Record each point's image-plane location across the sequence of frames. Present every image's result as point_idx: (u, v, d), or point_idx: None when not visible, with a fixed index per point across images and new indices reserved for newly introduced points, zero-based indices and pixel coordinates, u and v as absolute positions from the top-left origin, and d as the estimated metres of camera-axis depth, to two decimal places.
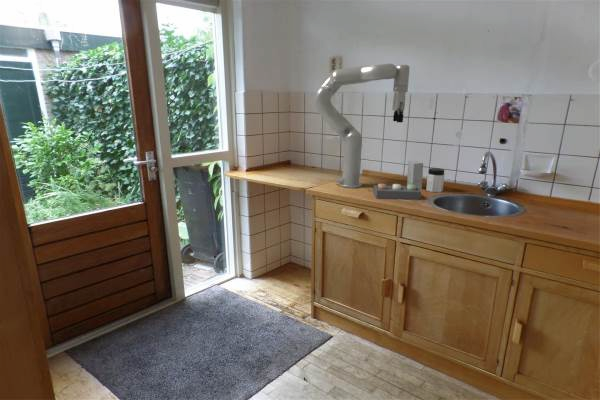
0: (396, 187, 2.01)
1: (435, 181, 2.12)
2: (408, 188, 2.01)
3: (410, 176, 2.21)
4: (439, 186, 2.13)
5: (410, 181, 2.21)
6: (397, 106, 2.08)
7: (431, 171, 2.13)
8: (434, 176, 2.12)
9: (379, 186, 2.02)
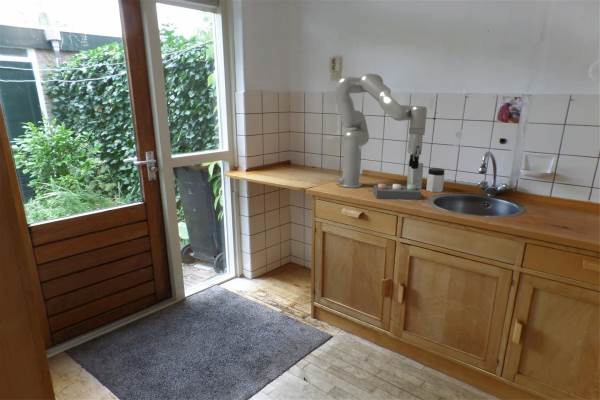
0: (396, 187, 2.01)
1: (435, 181, 2.12)
2: (408, 188, 2.01)
3: (410, 176, 2.21)
4: (439, 186, 2.13)
5: (410, 181, 2.21)
6: (413, 150, 1.92)
7: (431, 171, 2.13)
8: (434, 176, 2.12)
9: (379, 186, 2.02)
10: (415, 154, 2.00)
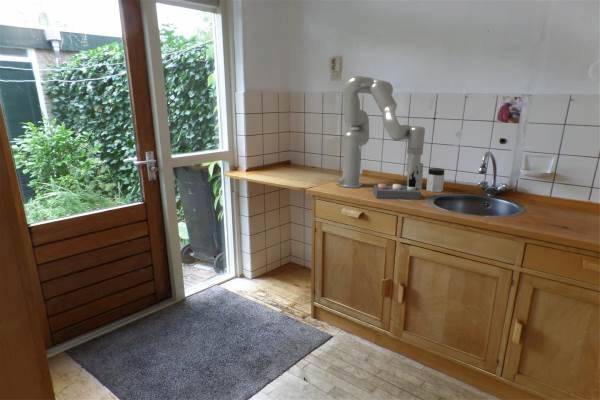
0: (396, 187, 2.01)
1: (435, 181, 2.12)
2: (408, 189, 2.02)
3: None
4: (439, 186, 2.13)
5: None
6: (412, 170, 1.95)
7: (431, 171, 2.13)
8: (434, 176, 2.12)
9: (379, 186, 2.02)
10: None
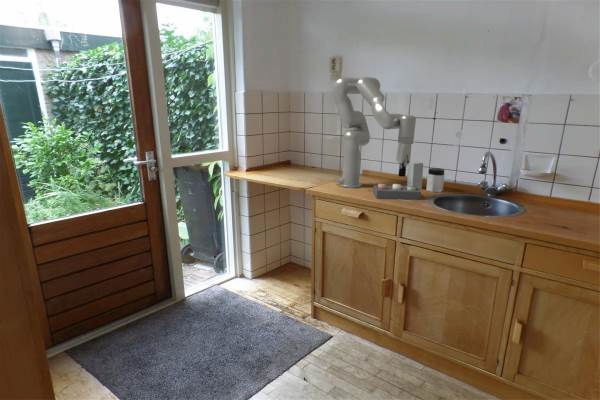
0: (396, 187, 2.01)
1: (435, 181, 2.12)
2: (408, 189, 2.02)
3: (410, 176, 2.21)
4: (439, 186, 2.13)
5: (410, 181, 2.21)
6: (402, 159, 1.94)
7: (431, 171, 2.13)
8: (434, 176, 2.12)
9: (379, 186, 2.02)
10: None
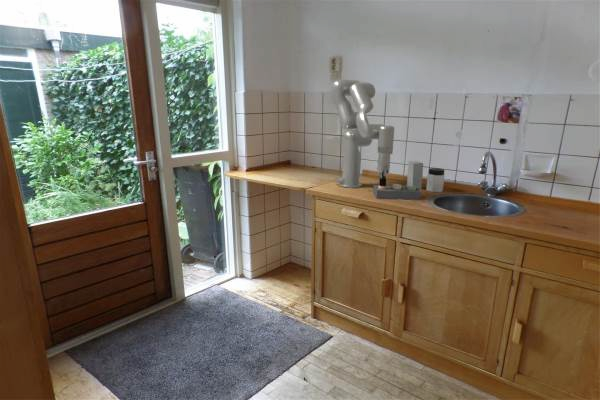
0: (396, 187, 2.01)
1: (435, 181, 2.12)
2: (408, 189, 2.02)
3: (410, 176, 2.21)
4: (439, 186, 2.13)
5: (410, 181, 2.21)
6: (381, 169, 1.96)
7: (431, 171, 2.13)
8: (434, 176, 2.12)
9: (379, 187, 2.02)
10: None
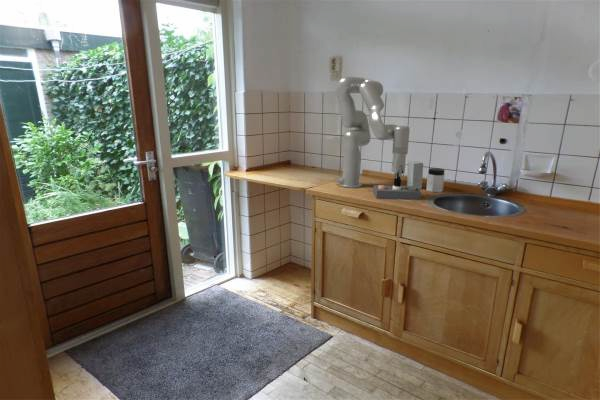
0: (396, 188, 2.01)
1: (435, 181, 2.12)
2: (408, 189, 2.02)
3: (410, 176, 2.21)
4: (439, 186, 2.13)
5: (410, 181, 2.21)
6: (396, 169, 1.95)
7: (431, 171, 2.13)
8: (434, 176, 2.12)
9: (379, 187, 2.02)
10: None
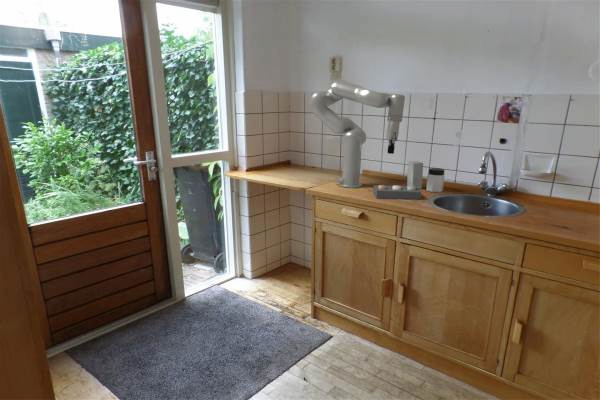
0: (396, 188, 2.01)
1: (435, 181, 2.12)
2: (408, 189, 2.02)
3: (410, 176, 2.21)
4: (439, 186, 2.13)
5: (410, 181, 2.21)
6: (390, 136, 2.03)
7: (431, 171, 2.13)
8: (434, 176, 2.12)
9: (379, 187, 2.02)
10: None
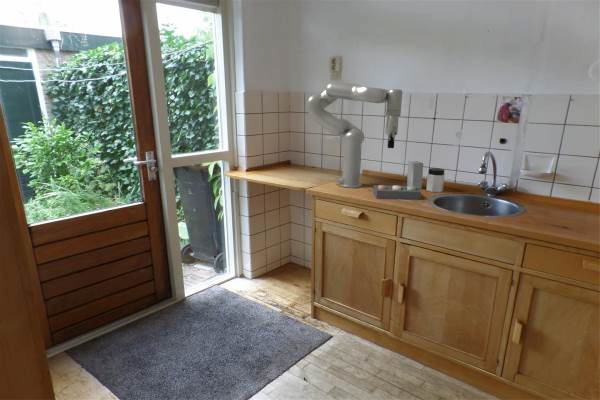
0: (396, 188, 2.01)
1: (435, 181, 2.12)
2: (408, 189, 2.02)
3: (410, 176, 2.21)
4: (439, 186, 2.13)
5: (410, 181, 2.21)
6: (390, 131, 2.05)
7: (431, 171, 2.13)
8: (434, 176, 2.12)
9: (379, 187, 2.02)
10: None
